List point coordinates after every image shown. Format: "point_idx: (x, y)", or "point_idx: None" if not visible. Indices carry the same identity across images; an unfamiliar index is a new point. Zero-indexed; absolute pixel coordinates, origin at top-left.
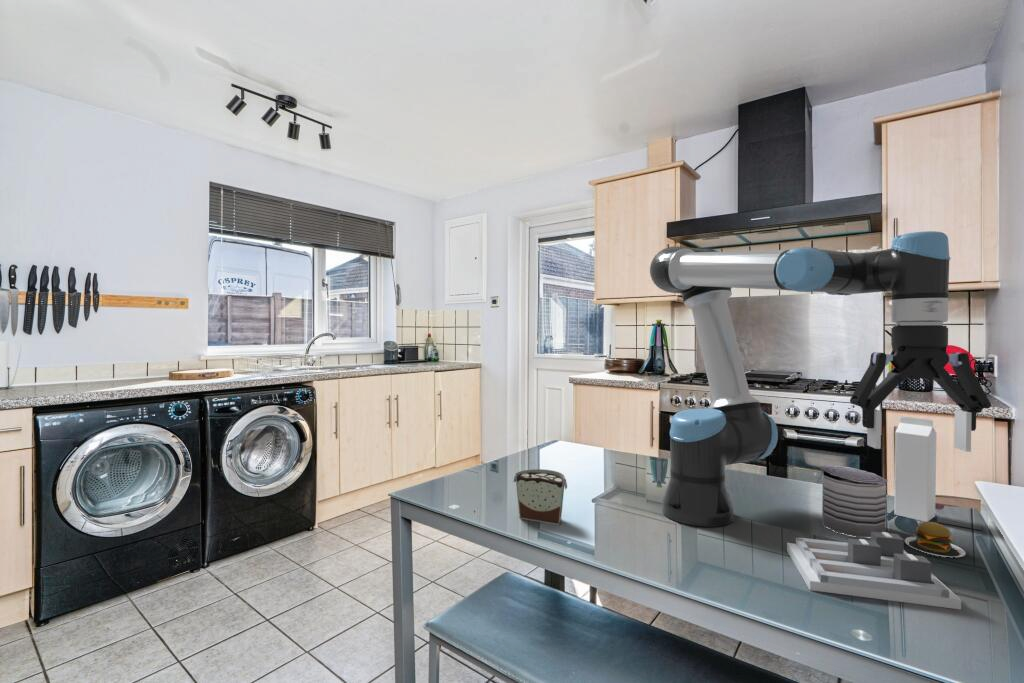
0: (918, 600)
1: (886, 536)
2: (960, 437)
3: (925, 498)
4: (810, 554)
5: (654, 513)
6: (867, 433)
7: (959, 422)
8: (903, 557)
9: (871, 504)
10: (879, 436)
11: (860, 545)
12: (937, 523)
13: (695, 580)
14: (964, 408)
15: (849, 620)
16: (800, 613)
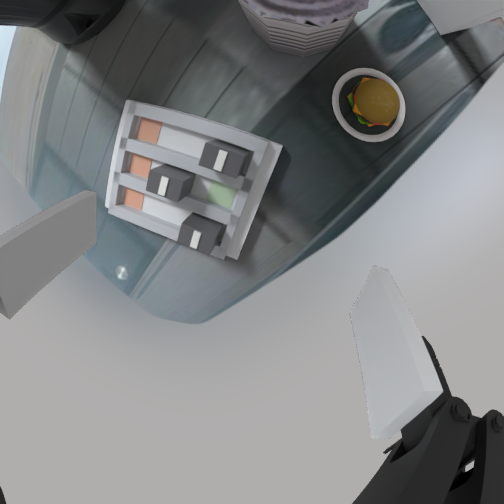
0: None
1: (214, 167)
2: (370, 322)
3: (458, 23)
4: (119, 159)
5: None
6: (56, 205)
7: (387, 366)
8: (185, 236)
9: (297, 37)
10: (69, 261)
11: (154, 193)
12: (389, 101)
13: (38, 183)
14: (418, 429)
15: (121, 255)
16: None
